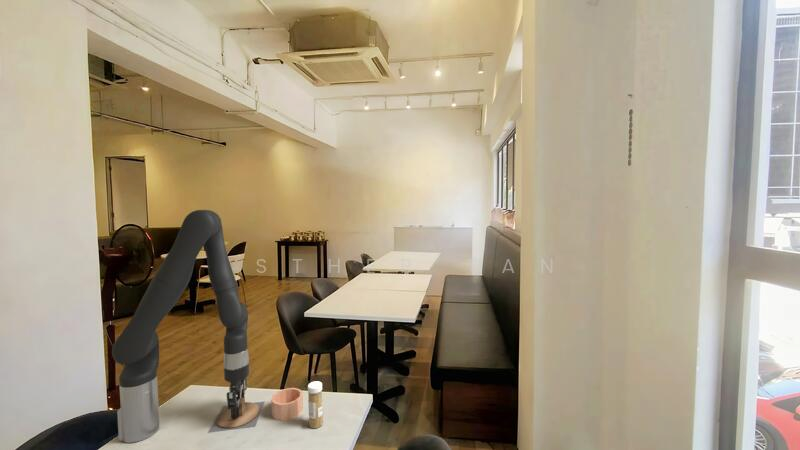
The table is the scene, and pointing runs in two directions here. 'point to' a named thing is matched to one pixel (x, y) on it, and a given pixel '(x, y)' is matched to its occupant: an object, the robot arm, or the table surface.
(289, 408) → the terracotta bowl
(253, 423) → the charcoal mat
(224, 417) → the walnut lid
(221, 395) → the table surface
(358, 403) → the table surface
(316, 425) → the sprinkles bottle
